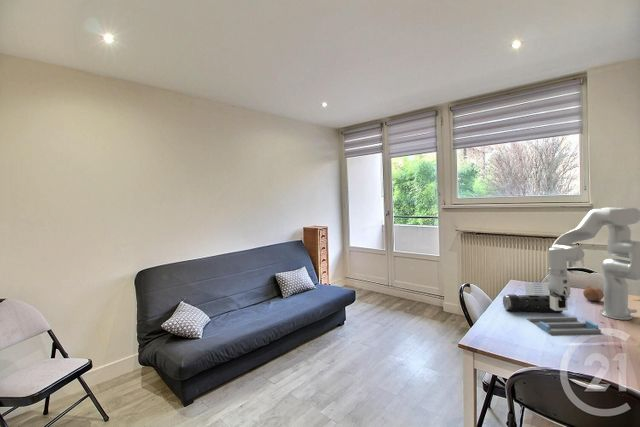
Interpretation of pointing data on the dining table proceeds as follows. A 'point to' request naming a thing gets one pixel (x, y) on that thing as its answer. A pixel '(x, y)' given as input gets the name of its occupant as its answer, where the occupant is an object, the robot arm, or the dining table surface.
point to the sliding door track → (565, 326)
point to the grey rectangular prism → (556, 302)
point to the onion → (593, 294)
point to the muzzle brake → (527, 303)
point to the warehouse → (537, 289)
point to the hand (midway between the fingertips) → (558, 305)
